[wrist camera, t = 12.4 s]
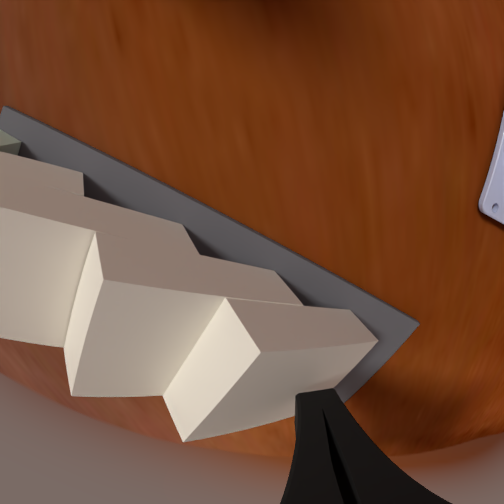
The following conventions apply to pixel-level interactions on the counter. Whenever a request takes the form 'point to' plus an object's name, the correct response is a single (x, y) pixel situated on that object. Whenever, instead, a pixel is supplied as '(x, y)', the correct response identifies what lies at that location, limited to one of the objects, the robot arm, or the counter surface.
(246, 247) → the domino mat
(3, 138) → the pale green rectangular block
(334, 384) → the domino
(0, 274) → the domino
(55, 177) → the domino
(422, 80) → the counter surface
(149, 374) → the domino
